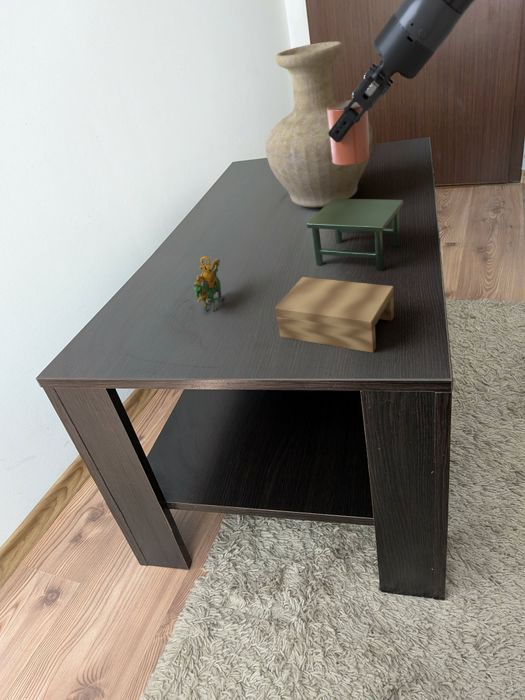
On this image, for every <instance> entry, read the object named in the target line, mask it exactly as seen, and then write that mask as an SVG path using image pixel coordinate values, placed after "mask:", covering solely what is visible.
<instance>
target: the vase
mask: <svg viewBox="0 0 525 700" xmlns="http://www.w3.org/2000/svg"><path fill="white" fill-rule="evenodd" d="M343 47H344V45H343V43H342V42H341V41H335V40H334V41H324V42H323V41H322V42H317V43H312V44H306V45H305V44H304V45H301V46H297V47H292V48H289V49H286V50H283V51H281V52H278V53H277V54H275V62H276V64H277V65H278V67H280V68H283V69H285V70H287V71H288V73H289V75H290V78H291V87H292V93H293V95H292V96H293V109H292V111H291V112H290V113H289V114H287V116H285V117H284V118H282V119H281V120H280V121H278V122H277V123H276V124H275V125H274V126H273V128H272V129H271V130H270V131H269V132H268V134H267V136H266V138H265V139H266V140H265V154H266V158H267V162H268V165H269V167H270V169H271V171H272V173H273V175H274V176H275V177H276V179H277V181H278V182H279V183H280V184H281V185H282V187H283V188H284V189H285V190H286V191H287V193H288V195H289V196H290V200H291V201H292V202H293V203H294V204H295V205H297V206H300V207H305V208H323V207H324V206H325V205H326V204H327V203H328V202H330V201H331V200H332V199H352V197H354V196H355V194H356V193H357V191H358V184H359V182H360V180H361V177H362V176H363V174H364V172H365V170H366V169H367V166H368V164H369V161H370V158H369V159H367V160H366V161H363V162H361V163H357V164H352V165H336V164H334V163H332V157H331V147H330V137H329V134H328V133H329V127H328V117H327V107H328V106H330V105H332V104H335V103H337V101H336V99H335V96H334V95H335V93H334V87H333V77H332V76H333V75H332V64H333V62H334V61H335V59H337V58H338V57H339V56H340V55H341V54H342V51H343ZM368 125H369V142H370V155H372V154H371V153H372V147H373V139H374V134H373V132H374V131H373V127H372V124H371V122H370V121H369V120H368Z"/></svg>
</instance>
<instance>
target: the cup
mask: <svg viewBox="0 0 525 700" xmlns="http://www.w3.org/2000/svg"><path fill="white" fill-rule="evenodd" d="M351 101H352V99H347V100H343V101H342V100H341V101H338V102H336V103H335V104H332V105H330V106H328V107H327V117H328V127H329V131H330V129H331V128H332V127H333V126H334V124H335V123H336V122H337V120H338V119H339V118H340V116H341V115H342V114H343V111H344V110H343V109H344V108H345V107H347V106H348V104H349V103H350V102H351ZM351 107H352V108H353V109H354V110H355V111H356V112H357V113H360V112H361V110H362V107H361V106H360V105H359V104H358V103H357V102H354V103H353V105H352V106H351ZM368 121H369V111H365V113H364V114H363V115H362V116H361V118H360V120H359V122H357V123H356V124H355V123H354V125H353V126H352V127H351V128H350V130H349V131H348V132H347V133H346V135H345V136H344V137H343V138H342V140H341V141H340V142H336V141H334V140H333V139H332V138H331V137H330V136H329V137H330V147H331V157H332V163H334V164H336V165H352V164H357V163H361V162H363V161H366V160H367V159H369V160H370V158H371V154H370V142H369V125H368Z"/></svg>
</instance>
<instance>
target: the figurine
mask: <svg viewBox="0 0 525 700" xmlns="http://www.w3.org/2000/svg"><path fill="white" fill-rule="evenodd" d="M204 260H206V261H207V263H204ZM220 261H221V260H220V258H218V259H217V258H216V259H215V260H214V261H212V262H211V260H210V258H209V257H208V256H202V257H201V258H200V259H199V262H200V264H201V265H200V266H199V267H198V269H199V270H200V271H202V270H203V271H202V272H201V274H200V275H197V276H196V282H193V286H194V287H193V291H194V293H195V294H194V297H195V299H198V300H197V301H196V304H199V303H200V302H201V301H202V302H203V306H204V308H203V309H202V311H205V312H207V311H208V303H209V302H210V303H211V306H212V308H211V312H214V311H216V310H217V309H216V302H222V301H223V299H222V288H221V287H222V286H221V280H220V279H219V277H218V276H217V275H218V274H217V273H218V271H219V269H218V268H219V266H220ZM216 294H217V296H218V297H217V299H215V297H214V296H215V295H216ZM215 300H216V301H215Z"/></svg>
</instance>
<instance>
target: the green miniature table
mask: <svg viewBox="0 0 525 700" xmlns="http://www.w3.org/2000/svg"><path fill="white" fill-rule="evenodd" d="M403 206H404V199H373V198H372V199H368V198H349V199H332V200H331V201H330V202H328V203H327V204H326V205H325V206H324V207H321V209H320V210H319V211H318V212H317V213H316V214H315V215H314V216H313V217H312V218H311V219H310V220H309V221H308V222H307V223H306V227H307V229H311V233H312V240H313V248H314V256H315V263H316V266H322V265H324V259H323V258H324V257H323V255H324V256H335V257H349V258H361V259H373V260H375V267H376V268H375V269H376V271H377V272H382V271H384V269H385V267H384V266H385V265H384V263H385V262H384V242H383V235H386V236H392V246H393V247H395V248H399V247H400V246H401V225H400V224H401V222H400V221H401V220H400V219H401V217H400V215H401V214H400V209H401V208H402V207H403ZM391 221H392V228H386V227H387V226H388V225H389V224H390V222H391ZM320 230H334V236H335V244H340V243H341V244H342V243H343V233H346V234H363V235H364V234H365V235H374V249H375V252H374V251H361V250H349V249H348V250H346V249H335V248H334V249H333V248H322V243H321V234H320Z"/></svg>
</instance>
